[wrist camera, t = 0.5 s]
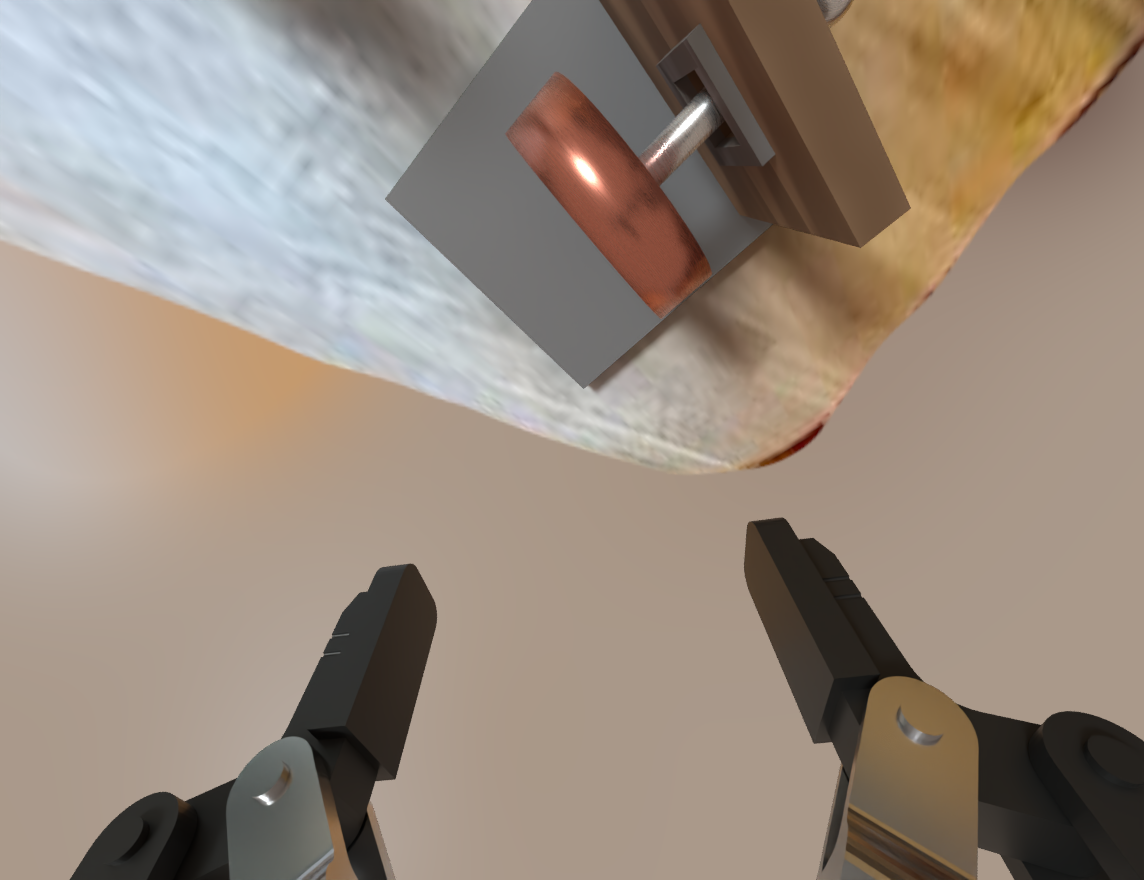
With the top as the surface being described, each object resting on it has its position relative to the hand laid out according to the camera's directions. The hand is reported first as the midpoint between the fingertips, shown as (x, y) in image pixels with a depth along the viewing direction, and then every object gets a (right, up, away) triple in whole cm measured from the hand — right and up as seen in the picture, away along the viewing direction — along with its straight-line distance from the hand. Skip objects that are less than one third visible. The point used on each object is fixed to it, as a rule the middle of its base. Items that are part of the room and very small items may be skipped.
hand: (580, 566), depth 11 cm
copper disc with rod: (+5, +20, +13) cm, 25 cm away
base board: (+2, +20, +18) cm, 26 cm away
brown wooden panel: (+6, +22, +14) cm, 27 cm away
